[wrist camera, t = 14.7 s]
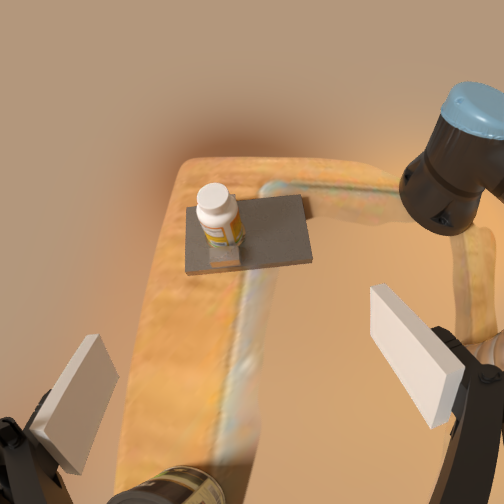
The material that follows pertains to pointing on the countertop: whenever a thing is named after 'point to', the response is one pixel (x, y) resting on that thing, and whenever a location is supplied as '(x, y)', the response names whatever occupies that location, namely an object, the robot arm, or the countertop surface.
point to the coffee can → (174, 489)
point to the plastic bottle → (489, 351)
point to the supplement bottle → (219, 215)
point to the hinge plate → (252, 238)
